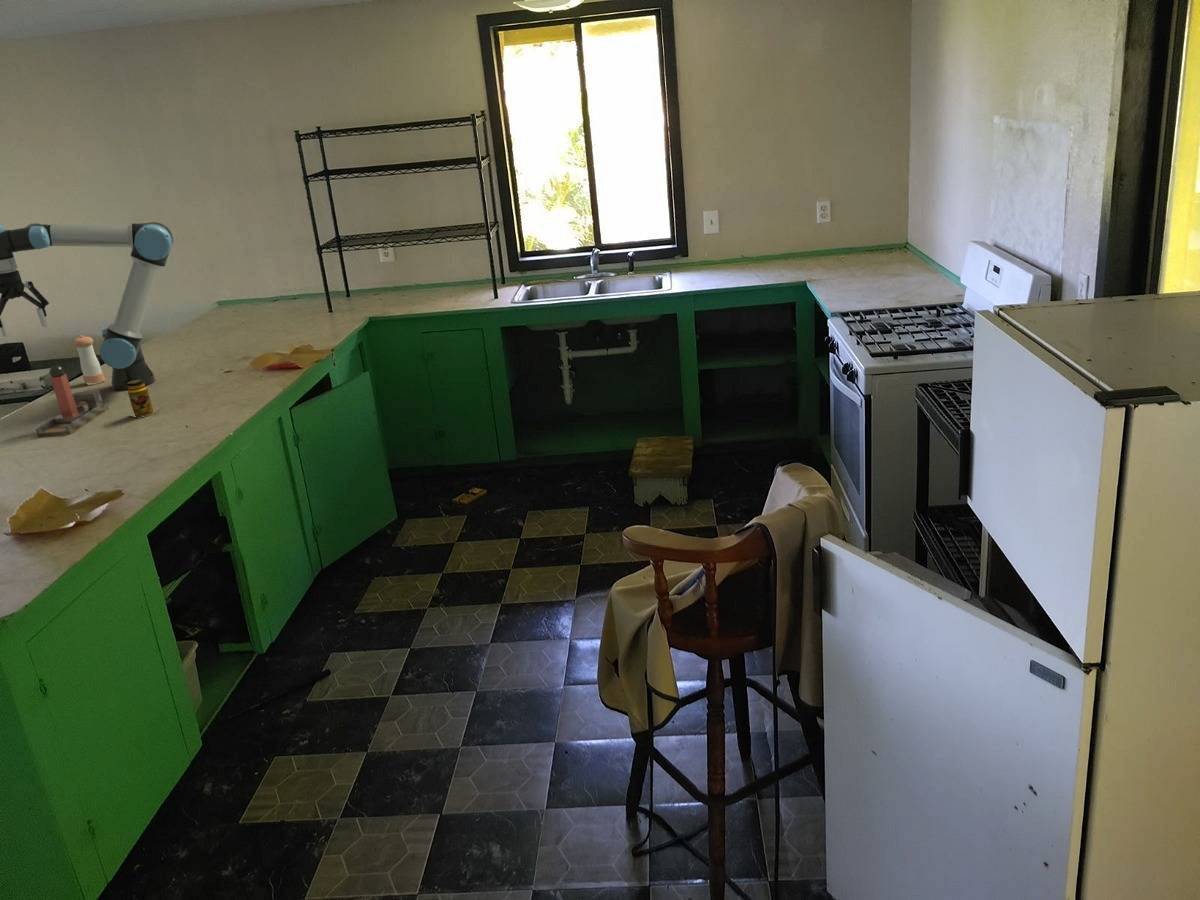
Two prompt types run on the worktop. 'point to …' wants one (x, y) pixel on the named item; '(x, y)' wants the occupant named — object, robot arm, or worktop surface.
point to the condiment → (139, 398)
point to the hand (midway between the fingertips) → (25, 331)
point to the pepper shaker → (88, 360)
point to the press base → (94, 408)
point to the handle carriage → (65, 397)
